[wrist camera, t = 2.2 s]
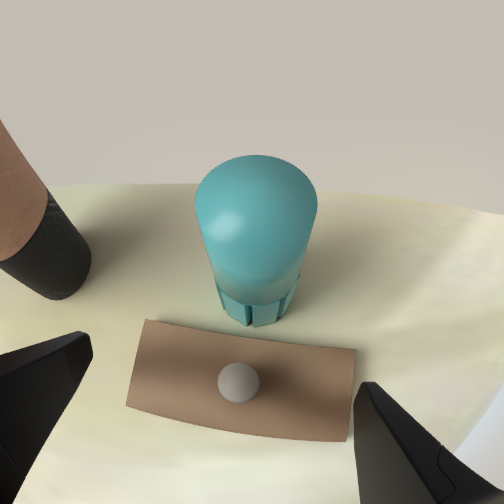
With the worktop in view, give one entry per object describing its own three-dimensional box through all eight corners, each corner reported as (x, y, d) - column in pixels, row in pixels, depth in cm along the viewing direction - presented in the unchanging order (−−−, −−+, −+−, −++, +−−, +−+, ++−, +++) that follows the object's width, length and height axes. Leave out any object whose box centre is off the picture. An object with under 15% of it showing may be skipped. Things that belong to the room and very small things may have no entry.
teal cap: (229, 333, 23) (204, 264, 12) (215, 268, 25) (188, 166, 15) (299, 316, 23) (335, 236, 13) (280, 254, 26) (295, 148, 15)
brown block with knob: (341, 440, 19) (360, 447, 15) (131, 406, 20) (106, 404, 16) (351, 352, 22) (370, 340, 18) (150, 323, 23) (130, 305, 19)
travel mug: (34, 246, 27) (-76, 113, 9) (91, 223, 28) (-8, 57, 10) (34, 311, 23) (-119, 187, 6) (97, 291, 24) (-56, 119, 7)
